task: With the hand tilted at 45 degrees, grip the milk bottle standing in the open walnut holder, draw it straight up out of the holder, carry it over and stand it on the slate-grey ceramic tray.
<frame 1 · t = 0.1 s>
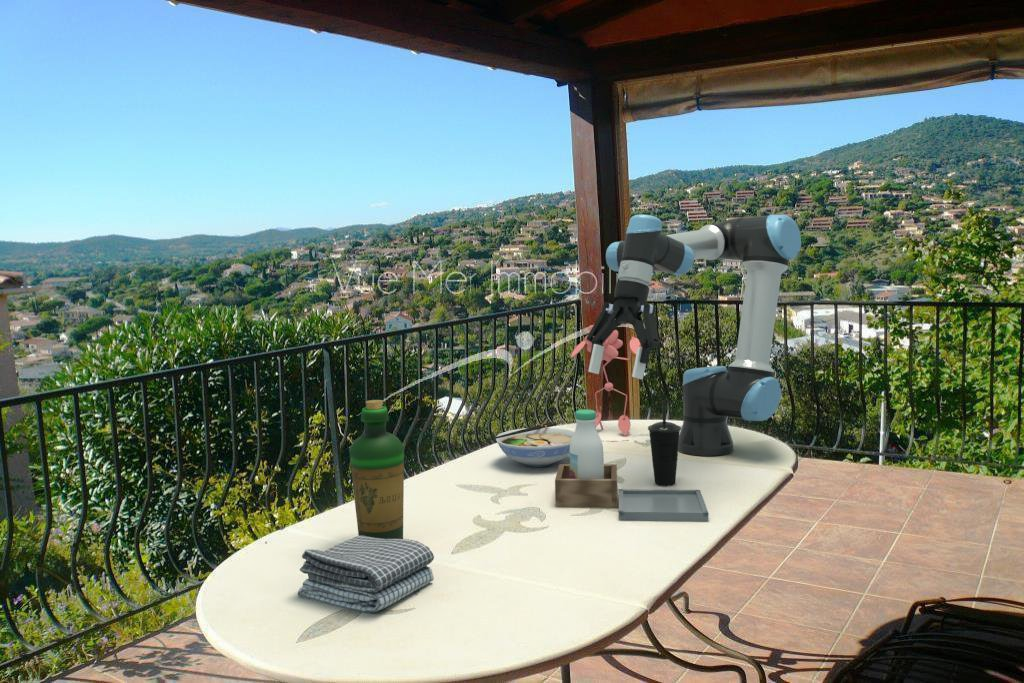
hand: (614, 375, 174), 28 cm above the table, tool tilted 20°, fingers open, 13 cm apart
drinking cup: (665, 484, 186), on the table
holder: (587, 498, 177), on the table
tray: (661, 508, 168), on the table
figurine: (604, 436, 238), on the table
ramen bowl: (538, 464, 208), on the table
towel: (367, 591, 131), on the table
milk bottle: (587, 498, 177), resting in holder
bottle: (381, 544, 152), on the table
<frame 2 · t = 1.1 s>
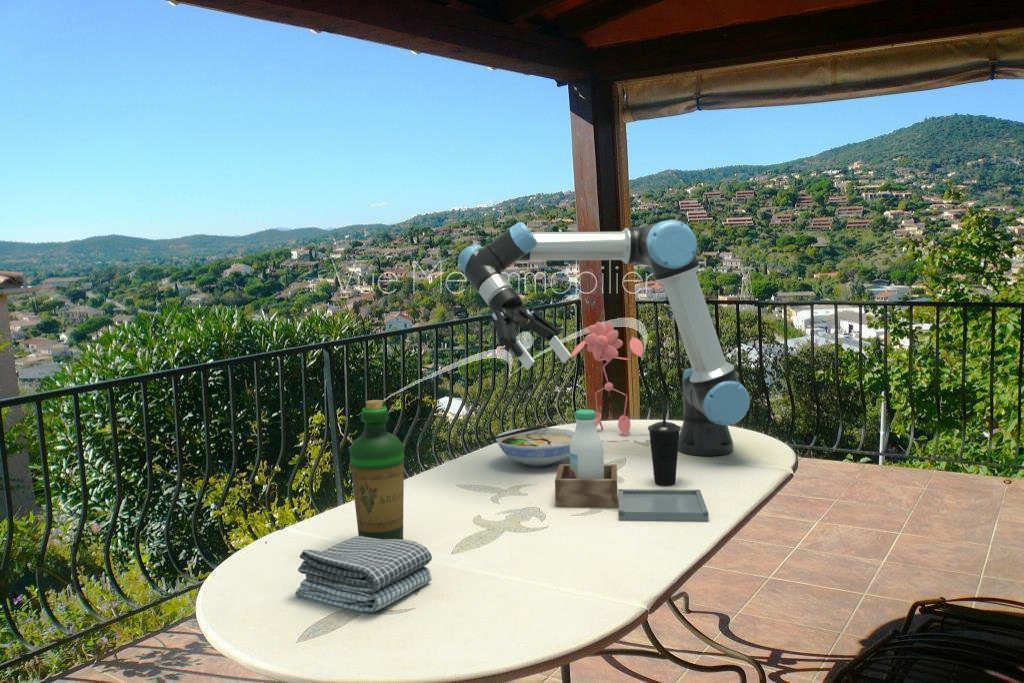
hand: (549, 362, 183), 30 cm above the table, tool tilted 45°, fingers open, 13 cm apart
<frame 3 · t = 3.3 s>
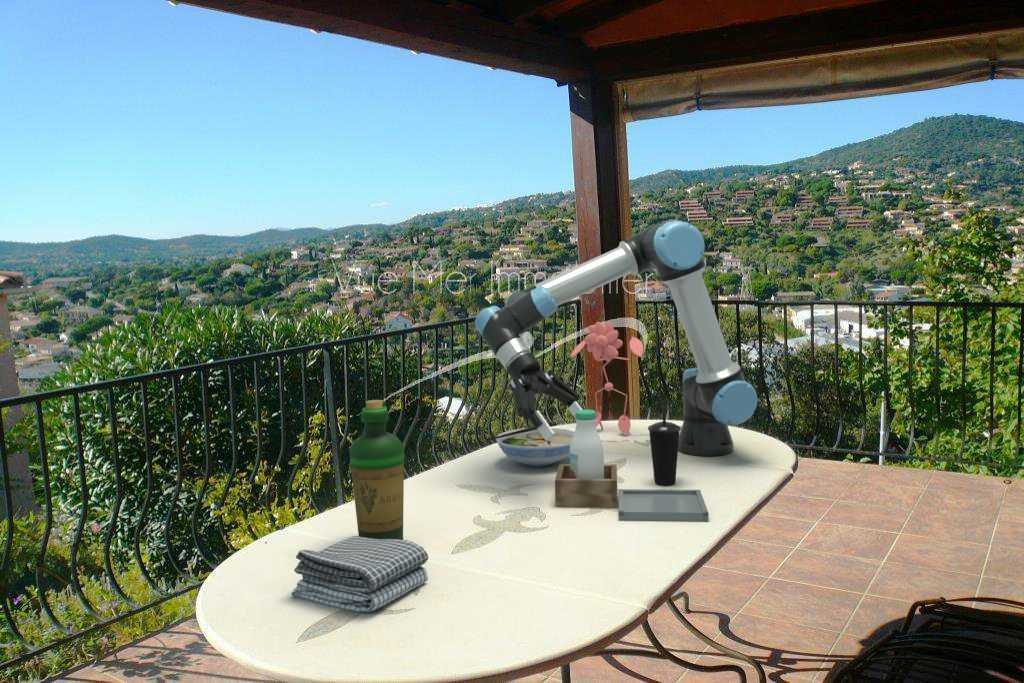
hand: (569, 431, 177), 15 cm above the table, tool tilted 45°, fingers open, 13 cm apart
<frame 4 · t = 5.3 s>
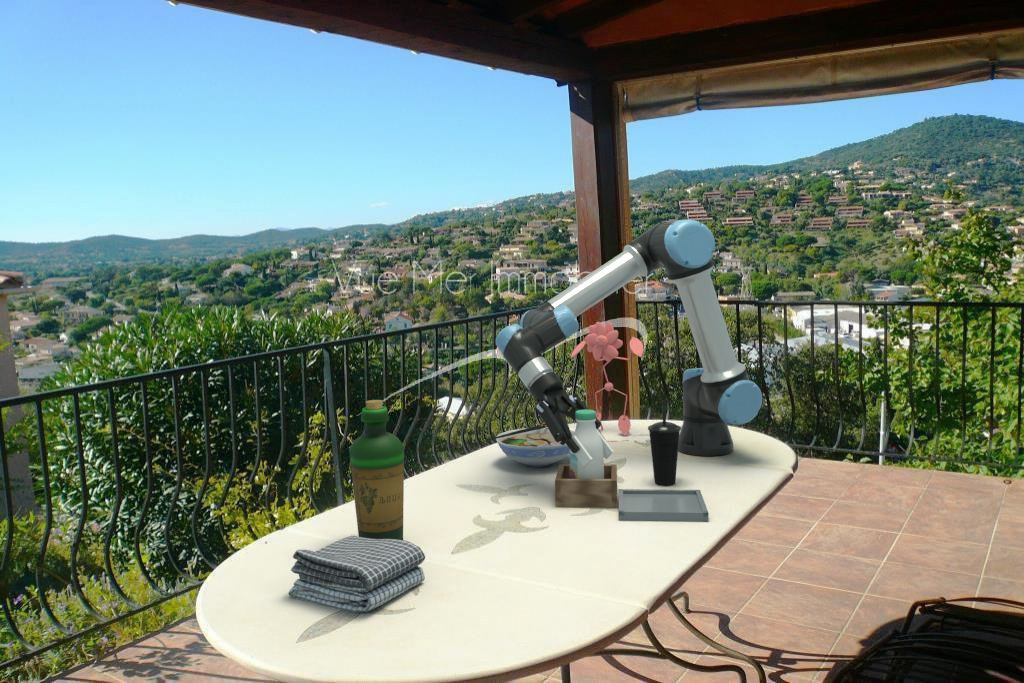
hand: (599, 458, 173), 10 cm above the table, tool tilted 45°, fingers closed on milk bottle, 7 cm apart
milk bottle: (587, 498, 177), resting in holder, touching gripper
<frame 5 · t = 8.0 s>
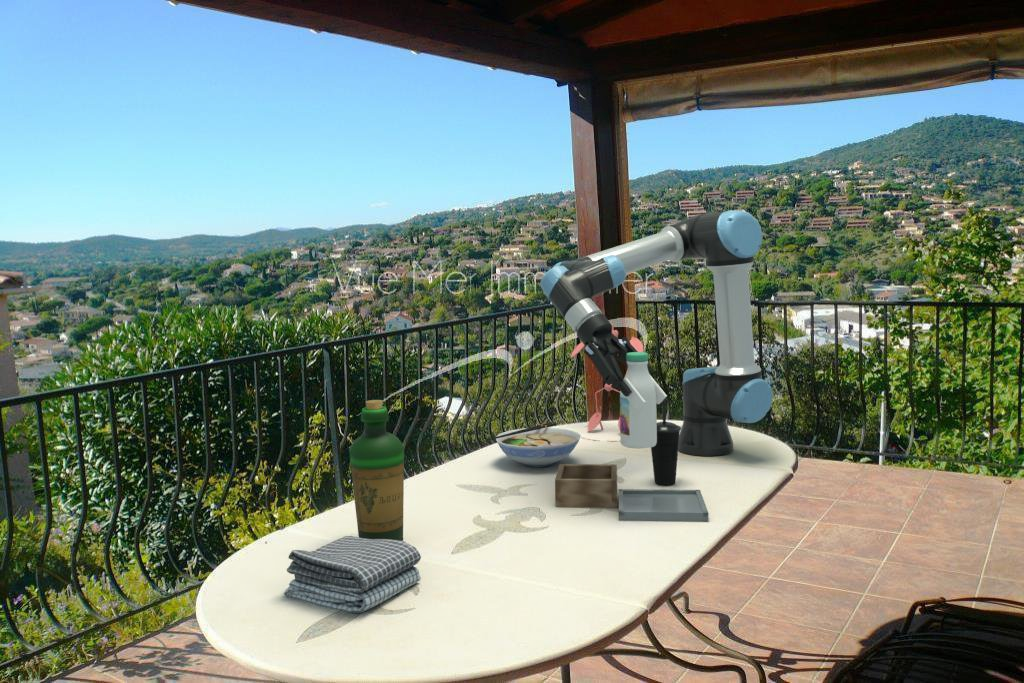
hand: (651, 403, 165), 23 cm above the table, tool tilted 45°, fingers closed on milk bottle, 7 cm apart
milk bottle: (638, 445, 168), point 13 cm above the table, touching gripper
when the fingers open (12 cm above the table, at t = 10.9 s): milk bottle drops 1 cm, resting on tray.
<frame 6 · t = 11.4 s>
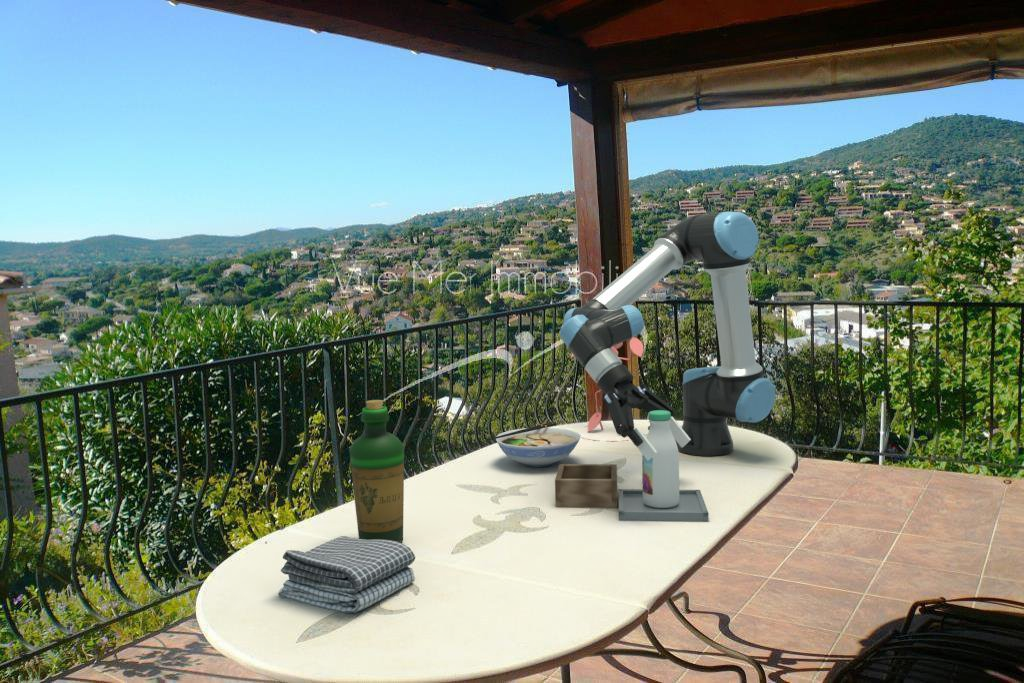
hand: (669, 449, 165), 13 cm above the table, tool tilted 45°, fingers open, 13 cm apart
milk bottle: (661, 504, 168), point 1 cm above the table, touching tray
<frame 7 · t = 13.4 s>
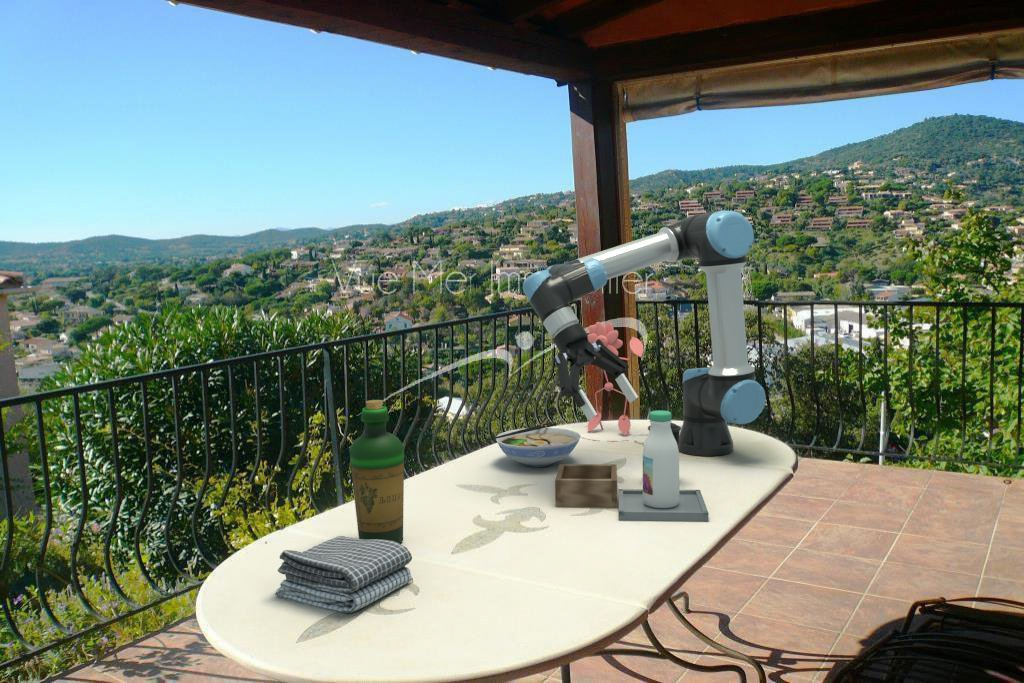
hand: (614, 408, 176), 20 cm above the table, tool tilted 35°, fingers open, 13 cm apart
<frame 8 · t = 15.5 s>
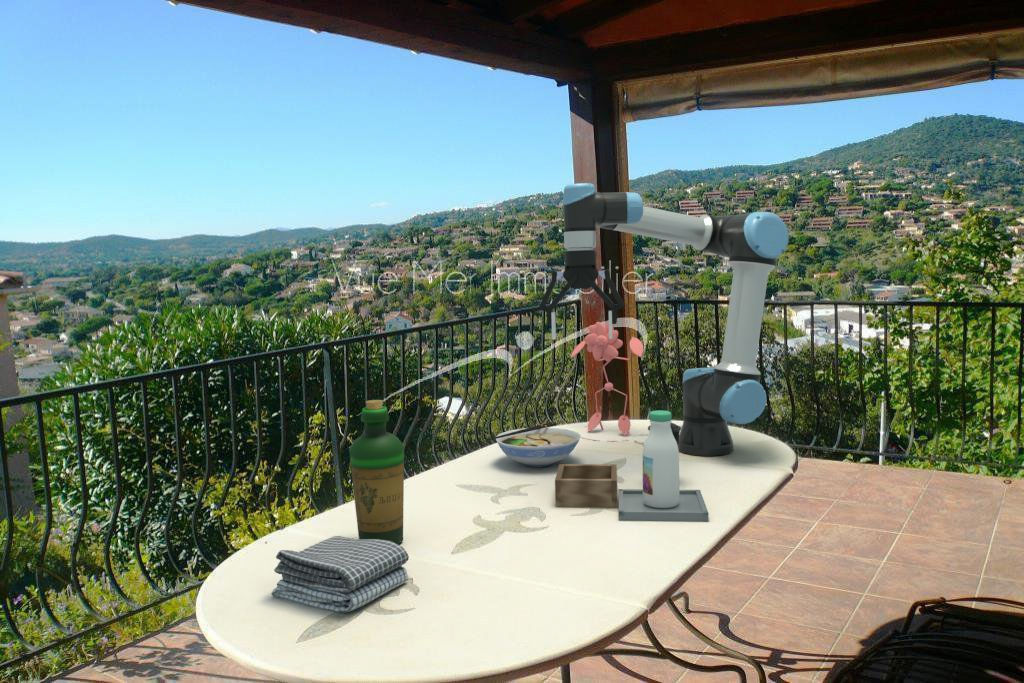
hand: (582, 338, 188), 35 cm above the table, tool pointing down, fingers open, 13 cm apart
at the end: milk bottle inside the target area on the tray (0.1 cm from its centre), point 0.8 cm above the tray's base; milk bottle tilted 0°; the gripper is holding nothing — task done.
